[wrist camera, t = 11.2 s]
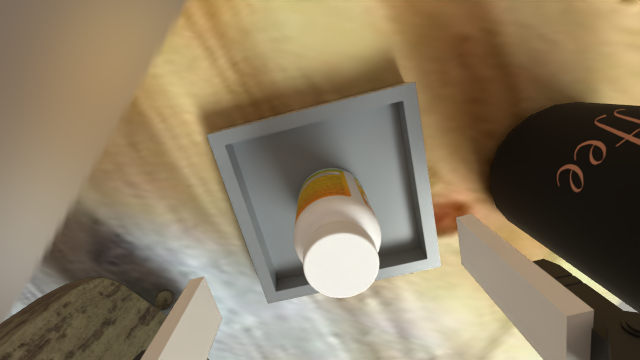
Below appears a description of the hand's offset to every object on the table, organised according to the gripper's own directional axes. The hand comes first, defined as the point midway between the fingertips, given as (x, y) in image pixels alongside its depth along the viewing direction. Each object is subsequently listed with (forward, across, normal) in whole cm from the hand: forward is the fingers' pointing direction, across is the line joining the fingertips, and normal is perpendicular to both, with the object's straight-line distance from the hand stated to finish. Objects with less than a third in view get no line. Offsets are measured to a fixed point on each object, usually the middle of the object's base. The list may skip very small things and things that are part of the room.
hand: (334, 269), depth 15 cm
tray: (+11, +1, 0) cm, 11 cm away
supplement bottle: (+10, +1, 0) cm, 10 cm away
